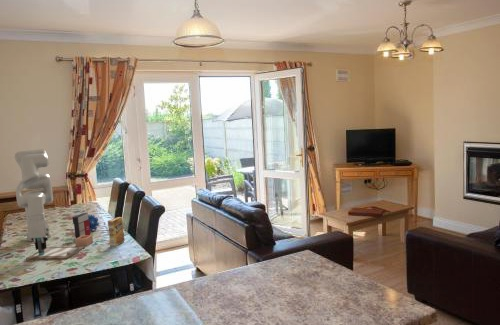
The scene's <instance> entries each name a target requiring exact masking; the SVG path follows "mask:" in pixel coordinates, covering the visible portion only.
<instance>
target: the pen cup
mask: <svg viewBox="0 0 500 325" xmlns="http://www.w3.org/2000/svg"><path fill="white" fill-rule="evenodd" d="M74 241H75V247H88V246H90V245H92V244H93V243H94V239H93V235H92V234H90V235H86V236H80V237H78V238H76V237H75V239H74Z"/></svg>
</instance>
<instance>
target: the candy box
mask: <svg viewBox="0 0 500 325" xmlns="http://www.w3.org/2000/svg"><path fill="white" fill-rule="evenodd" d="M107 228H108V236H109V237H108V238H109V246H111V247H112V246H113V247H116V246H118V245H121V244H122V243H124V241H125V231H124V223H123V217H122V216H116V217H114V218H112V219H109V220H107Z"/></svg>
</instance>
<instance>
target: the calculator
mask: <svg viewBox="0 0 500 325" xmlns="http://www.w3.org/2000/svg"><path fill="white" fill-rule="evenodd" d="M88 214H89V213H87V212H82V213H80V214H77V215H75V216H72V224H73V227H74V235H75V239H76V238H78V237H80V236H86V235H91V231H90V226H89V220H88Z"/></svg>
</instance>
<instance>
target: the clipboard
mask: <svg viewBox="0 0 500 325" xmlns="http://www.w3.org/2000/svg"><path fill="white" fill-rule="evenodd" d="M85 247H86V246H50V247H49V246H46V249H44V251H45V254H44V255H39V253H38V251H37V252H35V253H33V254H31V255H30V256H28V257H26V258H25V260H26V261H45V260H46V261H48V260H52V261H53V260H55V261H56V260H68V259H70V258H71V257H73V256H75V255H76V254H78V253H79V252H81V251H82V249H83V250H84V249H85Z"/></svg>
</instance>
